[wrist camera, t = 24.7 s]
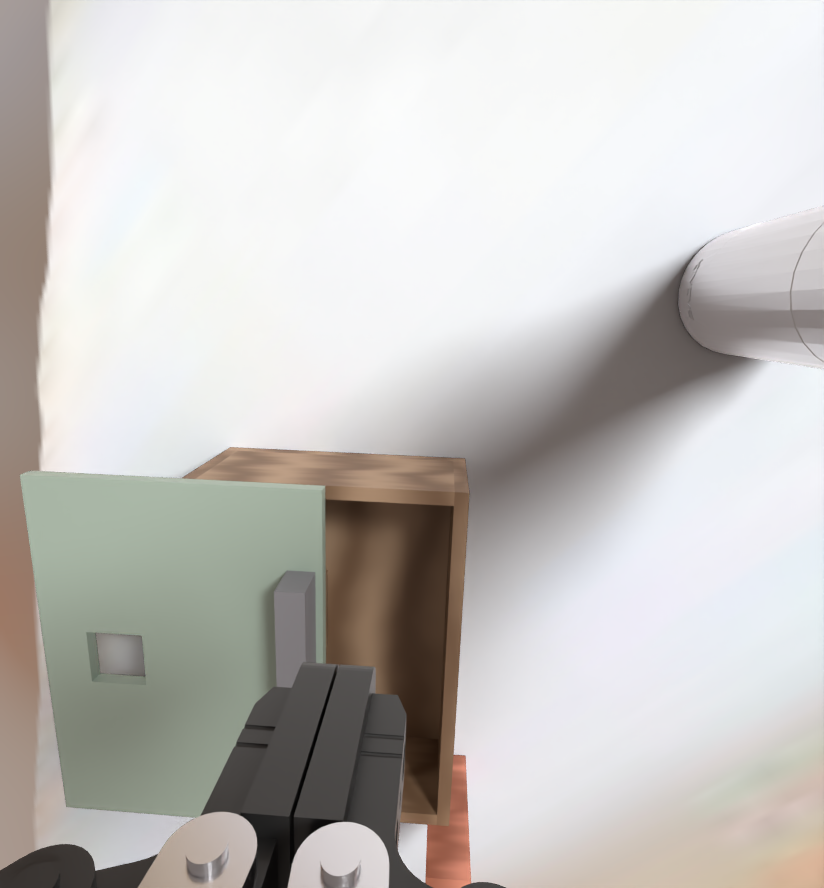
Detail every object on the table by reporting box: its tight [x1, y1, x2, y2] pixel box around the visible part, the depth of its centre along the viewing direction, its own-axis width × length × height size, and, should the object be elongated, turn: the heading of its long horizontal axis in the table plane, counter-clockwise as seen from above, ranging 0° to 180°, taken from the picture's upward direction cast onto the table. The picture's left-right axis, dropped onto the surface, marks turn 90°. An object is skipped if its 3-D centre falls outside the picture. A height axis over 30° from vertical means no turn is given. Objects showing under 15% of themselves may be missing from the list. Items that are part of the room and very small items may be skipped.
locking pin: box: [426, 755, 471, 888], centre depth 48 cm, size 3×3×12 cm
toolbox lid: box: [20, 471, 326, 818], centre depth 40 cm, size 21×28×4 cm
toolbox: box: [183, 447, 469, 826], centre depth 46 cm, size 20×28×9 cm
